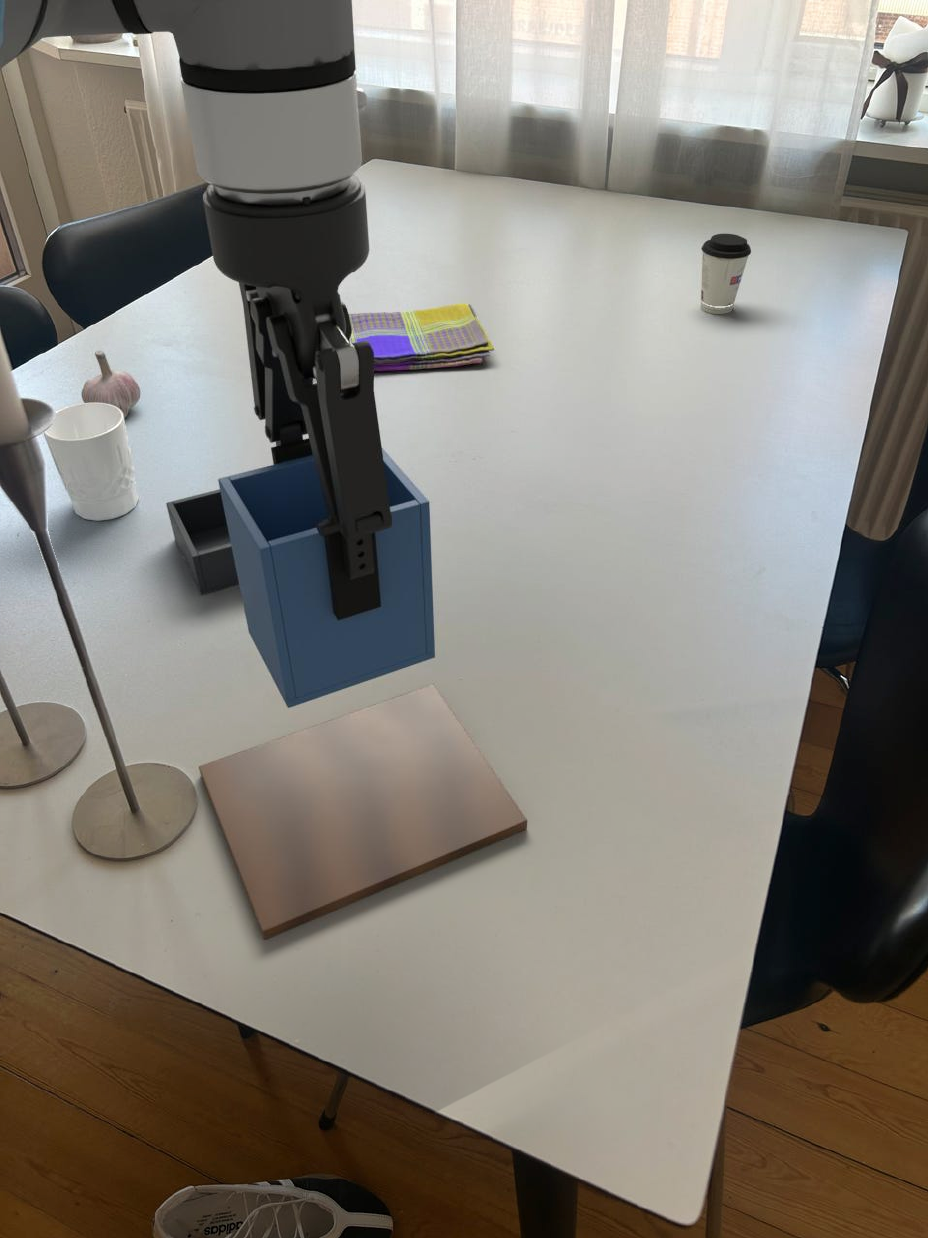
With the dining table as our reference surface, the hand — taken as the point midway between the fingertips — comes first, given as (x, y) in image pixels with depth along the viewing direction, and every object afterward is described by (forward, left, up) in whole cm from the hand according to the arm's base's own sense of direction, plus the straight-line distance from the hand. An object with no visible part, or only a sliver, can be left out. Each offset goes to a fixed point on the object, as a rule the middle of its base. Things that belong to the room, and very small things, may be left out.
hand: (330, 569), depth 59 cm
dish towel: (+35, +71, -22) cm, 82 cm away
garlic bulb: (-4, +70, -22) cm, 74 cm away
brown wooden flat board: (0, -1, -21) cm, 21 cm away
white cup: (-9, +49, -22) cm, 55 cm away
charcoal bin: (+2, +34, -21) cm, 41 cm away
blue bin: (0, 0, -6) cm, 6 cm away
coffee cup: (+82, +61, -22) cm, 105 cm away
